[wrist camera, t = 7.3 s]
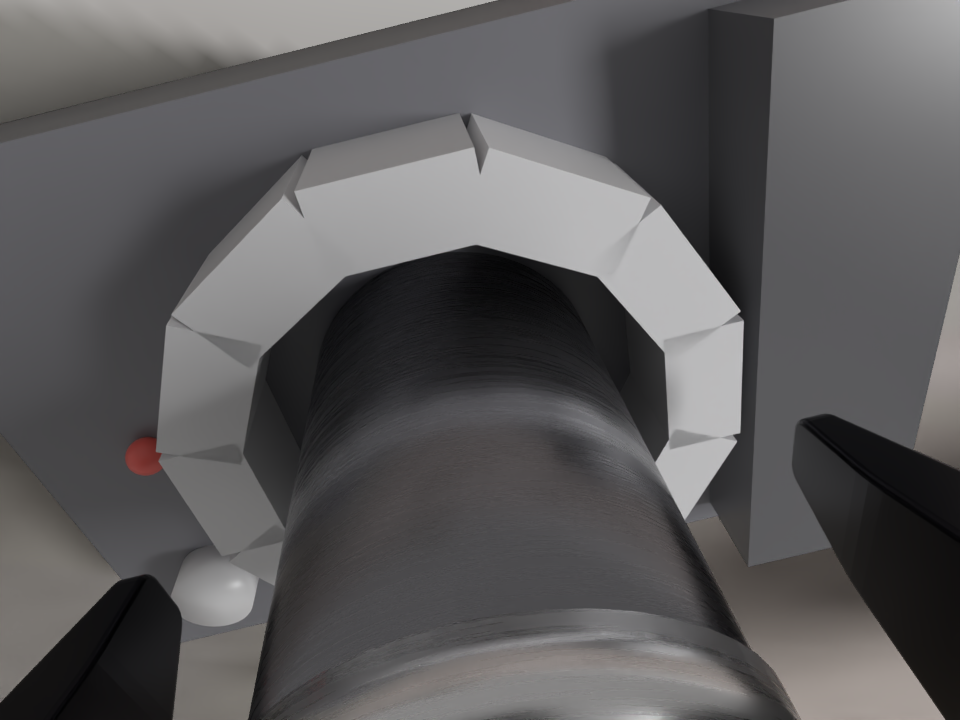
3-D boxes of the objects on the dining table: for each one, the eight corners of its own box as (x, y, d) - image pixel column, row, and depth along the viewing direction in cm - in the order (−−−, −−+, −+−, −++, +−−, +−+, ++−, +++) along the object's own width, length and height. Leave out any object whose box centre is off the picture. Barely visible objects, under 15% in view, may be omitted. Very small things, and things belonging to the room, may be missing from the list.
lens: (578, 212, 10) (1181, 1048, 2) (607, 450, 13) (923, 1183, 5) (265, 287, 10) (-150, 1332, 2) (363, 506, 13) (315, 1310, 5)
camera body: (814, -79, 11) (1077, -104, 7) (779, 407, 17) (905, 554, 13) (-66, 140, 11) (-342, 248, 7) (206, 544, 17) (147, 731, 13)
